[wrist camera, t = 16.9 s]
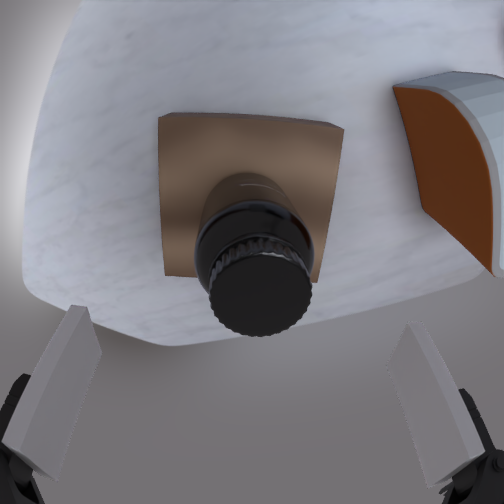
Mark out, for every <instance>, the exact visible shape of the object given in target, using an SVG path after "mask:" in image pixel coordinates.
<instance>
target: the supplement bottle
mask: <svg viewBox="0 0 504 504" xmlns="http://www.w3.org/2000/svg"><path fill="white" fill-rule="evenodd" d="M314 257H315V252H314V244H313V240H312V237H311V235H310V232H309V230H308V228H307V227H306V225H305V223H304V222H303V220H302V218H301V217H300V215H299V214H298V212H297V211H296V209H295V208H294V206H293V204H292V203H291V201H290V200H289V198H288V197H287V195H286V194H285V193H284V191H283V190H282V189H281V187H280V186H279V185H278V184H277V183H275V182H274V181H273V180H271V179H270V178H268V177H266V176H263V175H260V174H256V173H239V174H235V175H232V176H229V177H227V178H225V179H223V180H222V181H220V182H219V183H218V184H217V185H216V186H215V187H214V188H213V189H212V190H211V192H210V193H209V195H208V197H207V199H206V201H205V205H204V208H203V212H202V216H201V220H200V225H199V229H198V234H197V238H196V243H195V248H194V266H195V271H196V274H197V277H198V279H199V281H200V283H201V285H202V286H203V288H204V289H205V290H206V292H207V293H208V294H209V300H210V302H211V305H210V306H211V309H212V310H213V311H214V315H215V316H216V317H217V318H218V319H219V322H220V323H222V324H224V325H225V327H226V328H228V329H231V330H232V331H233V332H236V333H240V334H241V335H248V336H251V337H254V336H258V337H263V336H271V335H273V334H275V333H276V334H277V333H280V332H281V331H283V330H287V329H288V328H289V327H290V326H292V325H295V324H296V322H297V321H298V320H299V319H301V318H302V316H303V314H304V313H305V312H306V311H307V307H308V306H309V305H310V298H311V297H312V291H311V289H312V283H311V281H310V275H311V272H312V269H313V265H314Z"/></svg>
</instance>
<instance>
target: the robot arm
mask: <svg viewBox="0 0 504 504" xmlns="http://www.w3.org/2000/svg"><path fill="white" fill-rule="evenodd" d="M101 354H102V351H101V348H100V345H99V343H98V340H97V337H96V334H95V331H94V328H93V325H92V321H91V318H90V315H89V312H88V308H87V307H84V306H77V305H71V306H70V308H69V310H68V311H67V313H66V315H65V316H64V318H63V320H62V321H61V323H60V325H59V326H58V328H57V330H56V331H55V333H54V335H53V337H52V338H51V340H50V342H49V344H48V345H47V347H46V349H45V351H44V353H43V355H42V356H41V359H40V360H39V362H38V364H37V366H36V368H35V370H34V372H33V374H32V376H31V375H27V374H22V375H21V376H20V377H19V378H18V379H17V380H16V381H15V382H14V384H13V386H12V388H11V390H10V392H9V395H8V396H7V398H6V400H5V404H3V406H2V408H1V410H0V504H45V503H44V501H43V498H42V496H41V494H40V491H39V489H38V487H37V485H36V482H35V480H34V478H33V476H32V472H33V470H34V471H35V472H37V473H38V474H39V475H41V476H43V477H45V478H48V479H50V480H53V481H56V482H58V479H59V475H60V471H61V468H62V464H63V461H64V458H65V455H66V451H67V448H68V445H69V442H70V439H71V436H72V433H73V429H74V427H75V424H76V421H77V418H78V415H79V412H80V409H81V407H82V404H83V401H84V398H85V396H86V393H87V390H88V388H89V385H90V382H91V380H92V377H93V375H94V372H95V370H96V367H97V364H98V362H99V360H100V357H101ZM386 366H387V369H388V371H389V374H390V377H391V379H392V382H393V384H394V387H395V390H396V393H397V395H398V398H399V401H400V404H401V407H402V409H403V412H404V415H405V418H406V421H407V424H408V427H409V430H410V433H411V436H412V438H413V442H414V445H415V448H416V451H417V455H418V458H419V460H420V464H421V468H422V471H423V475H424V478H425V481H426V485H427V488H431V487H434V486H436V485H439V484H442V483H444V482H445V481H447V480H448V479H450V478H451V477H452V480H453V481H452V482H451V483H450V484H448V485H447V486H445V487H444V488H442V489H441V491H440V492H439V494H442V493H443V492H445V491H447V492H446V493H445V494H444V496H445V498H444V500H443V503H442V504H504V451H502V450H496V448H495V447H494V445H493V443H492V440H491V438H490V436H489V433H488V431H487V429H486V427H485V424H484V422H483V420H482V418H481V417H480V416H481V415H480V413H479V411H478V410H477V409H476V408H477V407H476V405H475V403H474V401H473V399H472V397H471V396H470V395H469V394H468V393H467V391H465V389H459V390H458V389H457V387H456V384H455V383H454V380H453V378H452V377H451V374H450V373H449V371H448V369H447V367H446V365H445V363H444V361H443V359H442V357H441V355H440V353H439V352H438V350H437V348H436V346H435V344H434V342H433V341H432V339H431V337H430V336H429V333H428V332H427V330H426V328H425V326H424V325H423V323H422V322H407V324H406V327H405V329H404V331H403V333H402V335H401V337H400V339H399V341H398V343H397V345H396V347H395V349H394V351H393V353H392V354H391V356H390V359H389V360H388V362H387V364H386Z"/></svg>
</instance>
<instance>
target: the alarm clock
mask: <svg viewBox="0 0 504 504" xmlns="http://www.w3.org/2000/svg"><path fill="white" fill-rule="evenodd" d="M393 89H394V92H395V95H396V98H397V102H398V105H399V108H400V112H401V115H402V119H403V122H404V126H405V129H406V133H407V137H408V141H409V145H410V149H411V153H412V158H413V162H414V167H415V172H416V176H417V182H418V187H419V192H420V198H421V203H422V207H423V209H424V211H425V212H426V213H427V214H429V215H430V216H431V217H432V218H433V219H434V220H435V221H437V222H438V223H439V224H440V225H441V226H442V227H443V228H445V229H446V230H447V231H448V232H449V233H450V234H451V235H452V236H453V237H454V238H455V239H457V240H458V241H459V242H460V243H461V244H462V245H463V246H464V247H465V248H466V249H467V250H468V251H469V252H470V253H471V254H472V255H473V256H474V257H475V258H476V259H477V260H478V261H479V262H480V263H481V264H482V265H483V266H484V267H485V268H486V269H487V270H488V271H489V272H490V273H491V274H492V275H493V276H494V277H497V278H503V277H504V78H503V77H499V76H496V75H493V74H483V73H472V72H456V71H452V72H448V73H443V74H438V75H434V76H429V77H425V78H421V79H417V80H413V81H409V82H405V83H401V84H397V85H394V86H393Z"/></svg>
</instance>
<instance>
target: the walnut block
mask: <svg viewBox="0 0 504 504" xmlns="http://www.w3.org/2000/svg"><path fill="white" fill-rule="evenodd" d="M343 134H344V129H342V128H340V127H338V126H336V125H334V124H331V123H328V122H321V121H313V120H305V119H296V118H286V117H276V116H263V115H249V114H229V113H170V114H167V115H164V116H161V117H159V118H158V161H159V194H160V215H161V232H162V246H163V258H164V270H165V276H179V277H196V278H198V277H197V274H196V271H195V266H194V248H195V243H196V238H197V234H198V229H199V225H200V220H201V216H202V212H203V208H204V205H205V201H206V199H207V197H208V195H209V193H210V192H211V190H212V189H213V188H214V187H215V186H216V185H217V184H218V183H219V182H220V181H222V180H223V179H225V178H227V177H229V176H232V175H235V174H239V173H256V174H260V175H263V176H266V177H268V178H270V179H271V180H273V181H274V182H275V183H277V184H278V185H279V186H280V187H281V189H282V190H283V191H284V193H285V194H286V195H287V197H288V198H289V200H290V201H291V203H292V204H293V206H294V208H295V209H296V211H297V212H298V214H299V215H300V217H301V218H302V220H303V222H304V223H305V225H306V227H307V228H308V230H309V232H310V235H311V237H312V240H313V244H314V252H315V257H314V265H313V269H312V272H311V275H310V281H311V283H317V281H318V277H319V272H320V267H321V262H322V258H323V253H324V248H325V243H326V238H327V232H328V227H329V222H330V216H331V211H332V205H333V199H334V194H335V188H336V181H337V175H338V169H339V162H340V156H341V149H342V142H343Z"/></svg>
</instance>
